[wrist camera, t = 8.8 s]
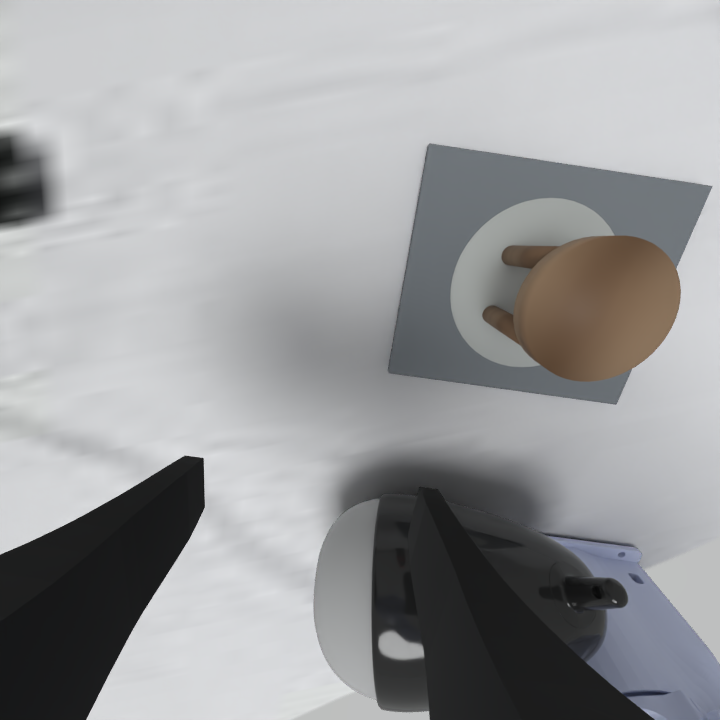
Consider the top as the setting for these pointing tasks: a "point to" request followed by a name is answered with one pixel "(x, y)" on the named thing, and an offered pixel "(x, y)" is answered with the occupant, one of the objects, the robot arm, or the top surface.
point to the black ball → (397, 601)
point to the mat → (502, 282)
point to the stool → (590, 305)
